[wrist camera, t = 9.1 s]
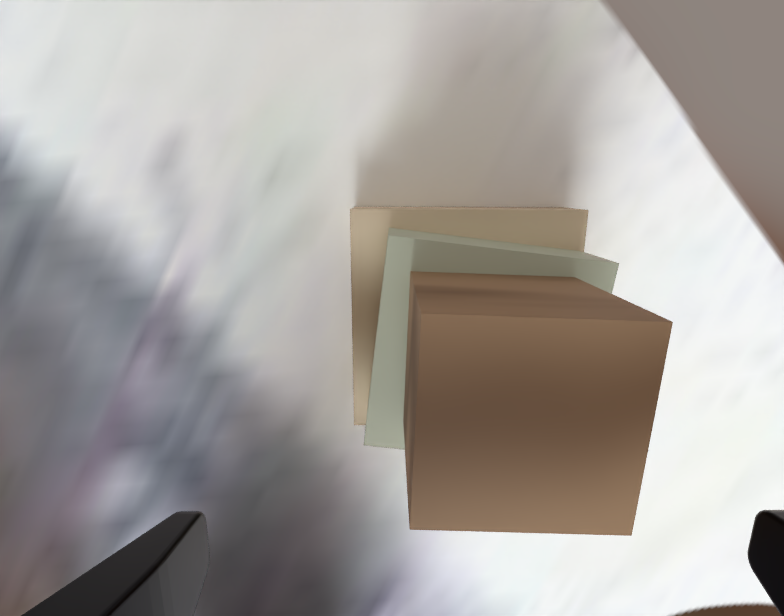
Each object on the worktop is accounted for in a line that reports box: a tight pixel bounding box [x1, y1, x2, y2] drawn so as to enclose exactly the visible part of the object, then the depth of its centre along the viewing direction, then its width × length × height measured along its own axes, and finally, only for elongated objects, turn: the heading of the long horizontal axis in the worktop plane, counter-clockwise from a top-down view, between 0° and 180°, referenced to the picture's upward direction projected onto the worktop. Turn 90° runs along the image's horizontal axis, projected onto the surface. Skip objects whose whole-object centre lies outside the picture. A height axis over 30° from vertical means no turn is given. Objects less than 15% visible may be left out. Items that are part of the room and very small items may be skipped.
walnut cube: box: [403, 271, 673, 536], centre depth 12 cm, size 5×5×5 cm
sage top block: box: [364, 228, 619, 450], centre depth 16 cm, size 7×7×3 cm
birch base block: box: [350, 207, 588, 425], centre depth 19 cm, size 8×8×3 cm
